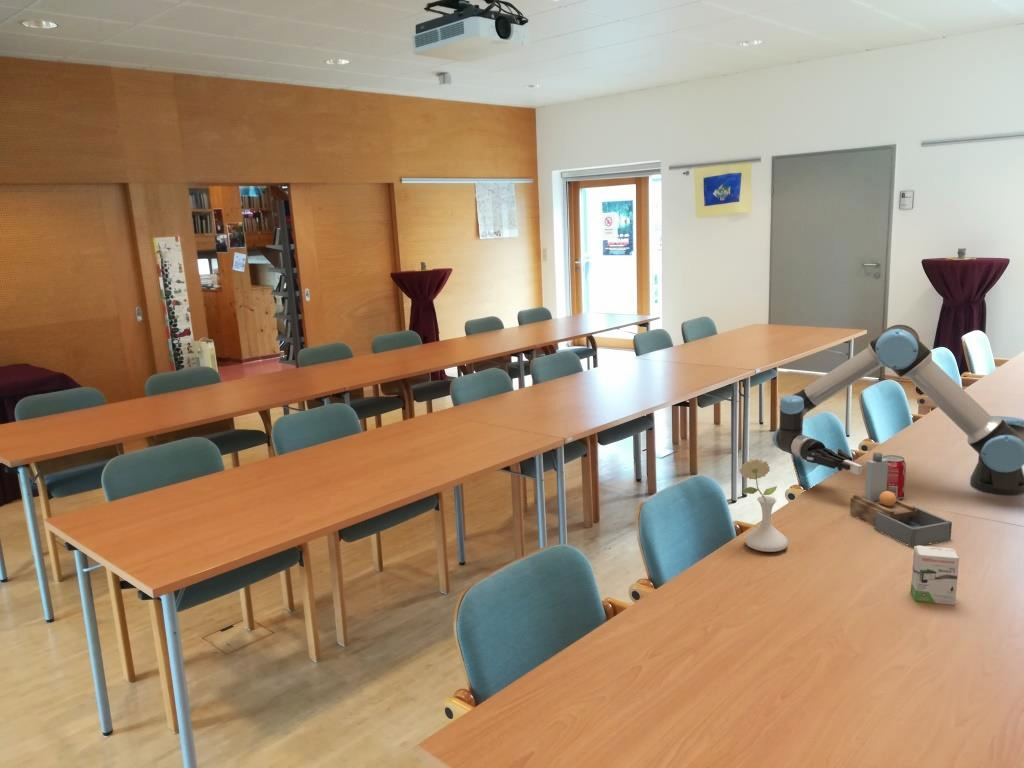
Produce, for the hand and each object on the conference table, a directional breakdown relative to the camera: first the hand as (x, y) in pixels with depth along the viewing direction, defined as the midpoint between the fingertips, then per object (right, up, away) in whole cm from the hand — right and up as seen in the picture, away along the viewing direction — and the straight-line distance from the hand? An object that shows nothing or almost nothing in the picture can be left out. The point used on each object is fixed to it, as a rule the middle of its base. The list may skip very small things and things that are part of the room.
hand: (859, 470), depth 228 cm
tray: (+7, -16, -17) cm, 24 cm away
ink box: (-7, -24, -52) cm, 58 cm away
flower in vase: (-36, -19, -20) cm, 45 cm away
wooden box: (+3, -14, -7) cm, 16 cm away
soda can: (+15, -10, +10) cm, 20 cm away
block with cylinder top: (+2, -8, -5) cm, 10 cm away
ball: (+4, -7, -10) cm, 12 cm away
